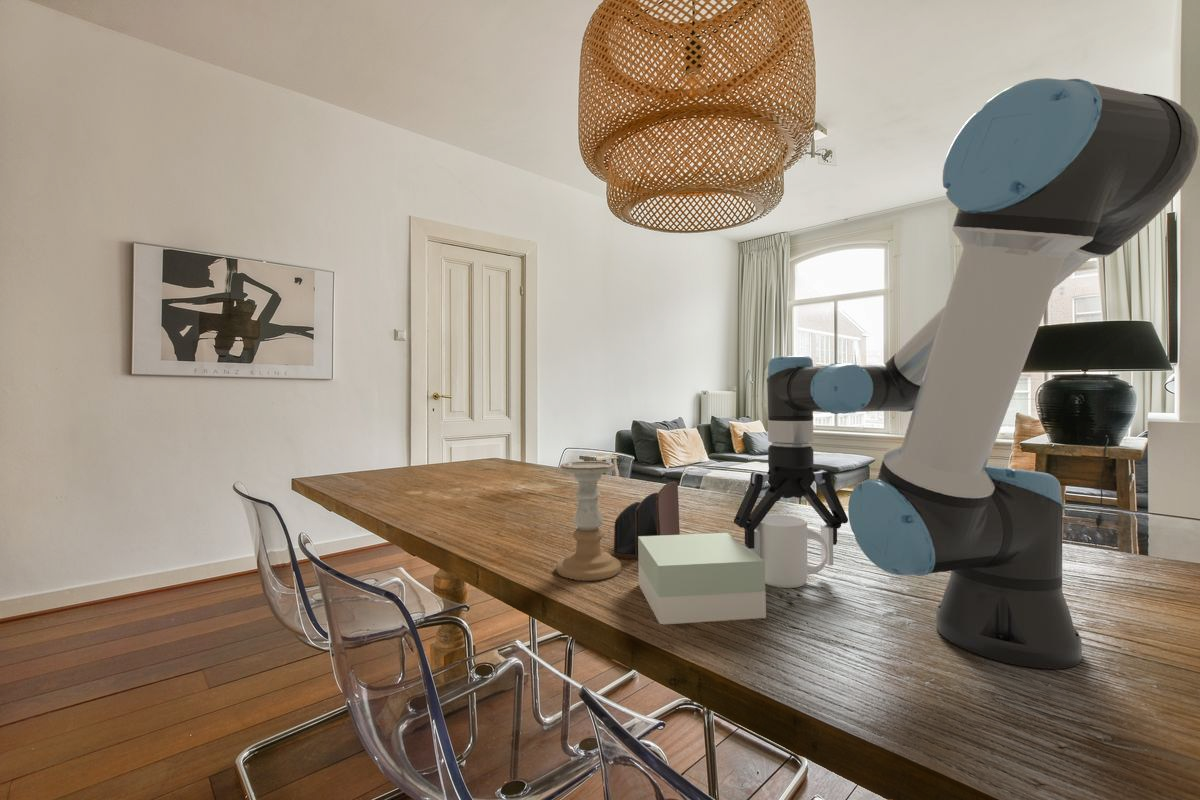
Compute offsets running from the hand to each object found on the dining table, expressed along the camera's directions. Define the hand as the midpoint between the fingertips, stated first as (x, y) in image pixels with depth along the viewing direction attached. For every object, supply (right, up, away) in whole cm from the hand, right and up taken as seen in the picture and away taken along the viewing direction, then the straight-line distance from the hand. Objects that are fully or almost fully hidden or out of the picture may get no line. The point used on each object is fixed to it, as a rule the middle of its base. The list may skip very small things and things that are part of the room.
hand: (791, 564), depth 92 cm
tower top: (-18, +1, -8) cm, 20 cm away
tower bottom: (-18, -4, -8) cm, 20 cm away
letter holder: (-23, -3, +22) cm, 32 cm away
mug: (0, -3, 0) cm, 3 cm away
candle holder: (-36, -3, +7) cm, 37 cm away
